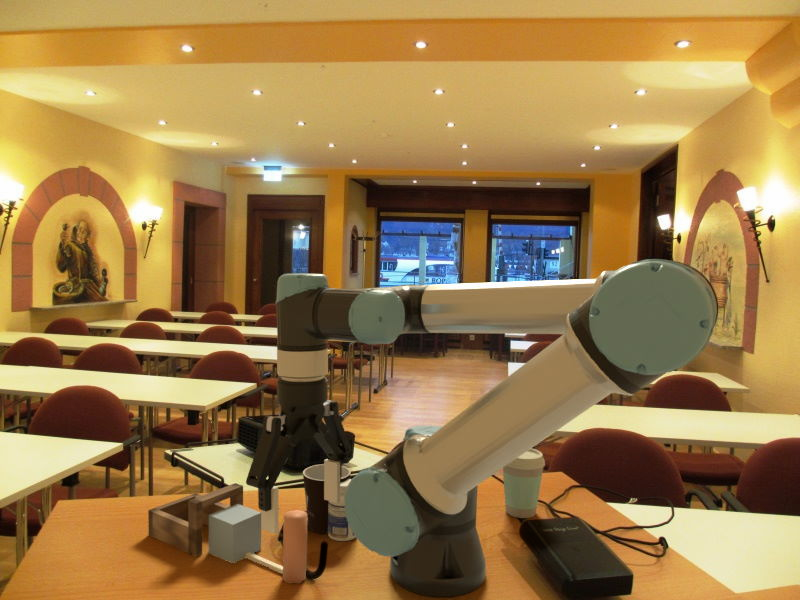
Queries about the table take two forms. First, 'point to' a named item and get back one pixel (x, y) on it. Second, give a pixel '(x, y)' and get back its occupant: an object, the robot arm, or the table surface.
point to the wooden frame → (190, 517)
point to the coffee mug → (318, 496)
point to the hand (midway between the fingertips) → (302, 514)
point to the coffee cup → (523, 484)
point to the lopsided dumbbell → (259, 539)
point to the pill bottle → (339, 518)
